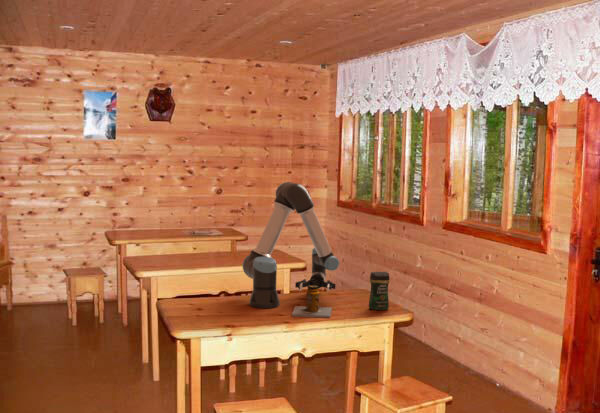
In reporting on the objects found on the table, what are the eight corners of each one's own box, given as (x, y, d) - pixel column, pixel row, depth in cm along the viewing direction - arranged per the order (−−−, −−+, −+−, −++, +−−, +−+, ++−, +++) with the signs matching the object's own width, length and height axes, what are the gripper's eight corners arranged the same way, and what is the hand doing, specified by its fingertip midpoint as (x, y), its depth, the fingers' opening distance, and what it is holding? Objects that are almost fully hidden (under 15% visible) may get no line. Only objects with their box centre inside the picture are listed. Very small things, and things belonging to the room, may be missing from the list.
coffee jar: (371, 311, 317) (372, 273, 315) (367, 307, 325) (368, 270, 323) (390, 310, 319) (391, 273, 317) (385, 306, 326) (386, 270, 325)
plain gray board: (291, 316, 305) (291, 314, 305) (295, 308, 321) (295, 306, 321) (330, 317, 303) (330, 315, 303) (331, 309, 319) (331, 307, 319)
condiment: (322, 311, 311) (322, 286, 310) (307, 313, 306) (307, 288, 305) (314, 308, 317) (314, 283, 316) (299, 310, 313) (299, 285, 311)
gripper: (340, 288, 341) (339, 297, 320) (293, 286, 343) (288, 295, 322) (341, 274, 340) (339, 282, 319) (293, 272, 342) (289, 280, 321)
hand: (314, 289), depth 320 cm, fingers open, 13 cm apart
